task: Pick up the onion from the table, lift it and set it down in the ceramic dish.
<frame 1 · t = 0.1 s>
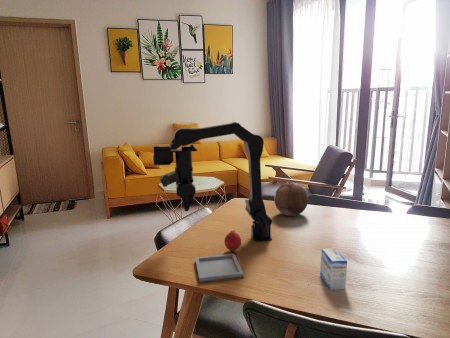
hand: (186, 206, 116), 15 cm above the table, fingers open, 9 cm apart
onion: (233, 251, 113), on the table
medicine box: (332, 282, 93), on the table
dish: (218, 269, 101), on the table
wooden sphere: (290, 215, 147), on the table
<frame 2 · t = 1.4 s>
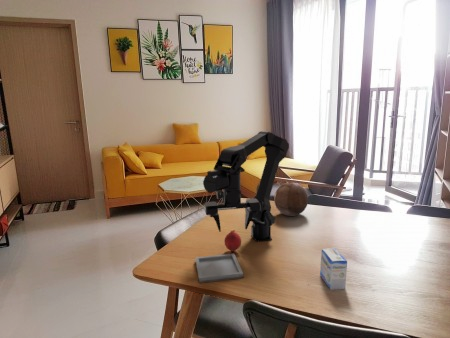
hand: (232, 230, 111), 8 cm above the table, fingers open, 9 cm apart
nothing on the table moved.
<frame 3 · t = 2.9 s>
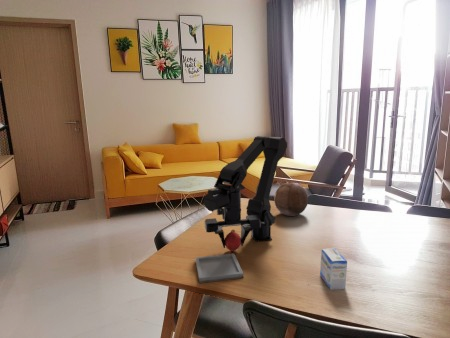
hand: (232, 246, 112), 2 cm above the table, fingers closed on onion, 6 cm apart
onion: (233, 251, 113), on the table, touching gripper
everything else where it was.
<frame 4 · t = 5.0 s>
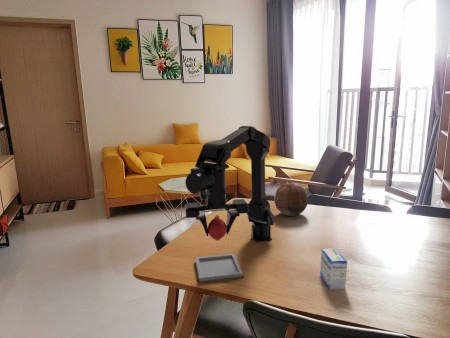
hand: (217, 234, 99), 11 cm above the table, fingers closed on onion, 6 cm apart
onion: (217, 240, 99), point 9 cm above the table, touching gripper
everything else where it was.
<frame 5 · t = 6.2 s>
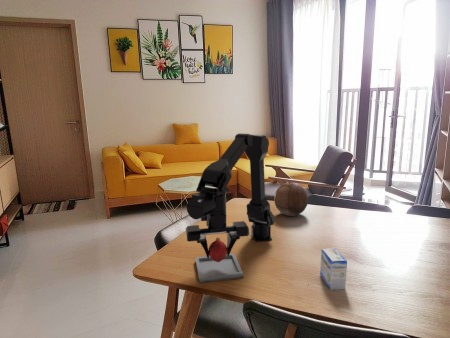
hand: (218, 256, 100), 4 cm above the table, fingers closed on onion, 6 cm apart
onion: (218, 262, 101), point 2 cm above the table, touching gripper
everything else where it was.
when the fingers open (4 cm above the table, at t = 7.1 s): onion drops 1 cm, resting on dish.
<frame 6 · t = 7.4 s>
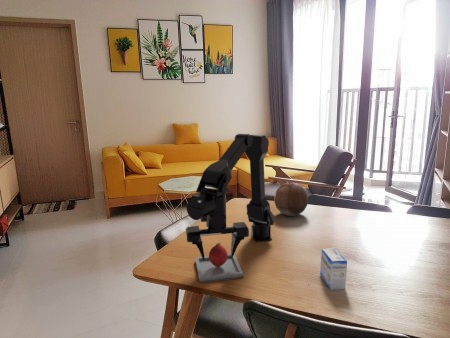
hand: (217, 257, 100), 4 cm above the table, fingers open, 9 cm apart
onion: (218, 267, 101), point 1 cm above the table, touching dish
everything else where it was.
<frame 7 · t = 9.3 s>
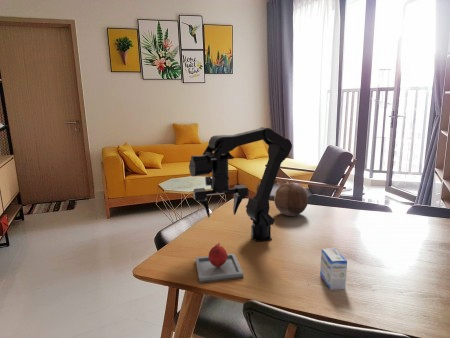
hand: (221, 215, 114), 12 cm above the table, fingers open, 9 cm apart
nothing on the table moved.
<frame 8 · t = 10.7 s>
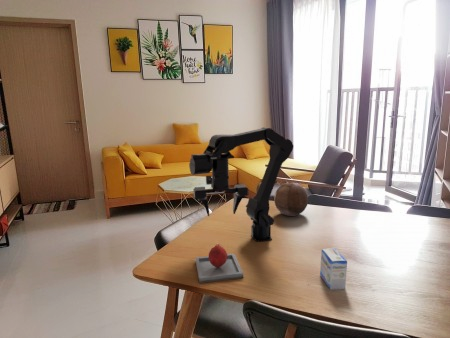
hand: (221, 214, 115), 12 cm above the table, fingers open, 9 cm apart
nothing on the table moved.
at the end: onion 0.0 cm from the dish (horizontally); onion resting on dish; the gripper is holding nothing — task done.
